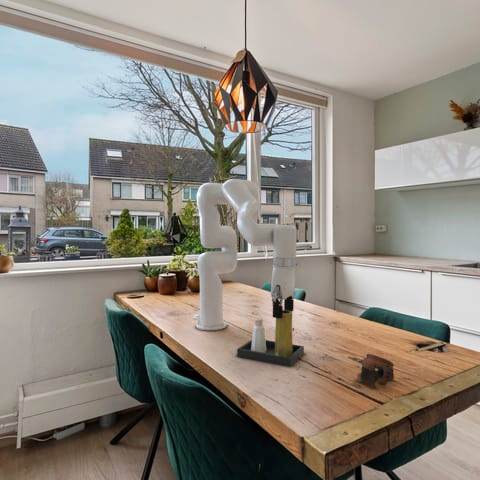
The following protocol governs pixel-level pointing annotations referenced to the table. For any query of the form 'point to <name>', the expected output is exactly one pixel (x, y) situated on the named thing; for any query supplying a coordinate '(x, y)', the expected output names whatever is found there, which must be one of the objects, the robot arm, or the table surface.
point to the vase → (284, 335)
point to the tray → (270, 354)
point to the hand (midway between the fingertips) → (283, 314)
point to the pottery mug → (369, 373)
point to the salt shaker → (258, 337)
